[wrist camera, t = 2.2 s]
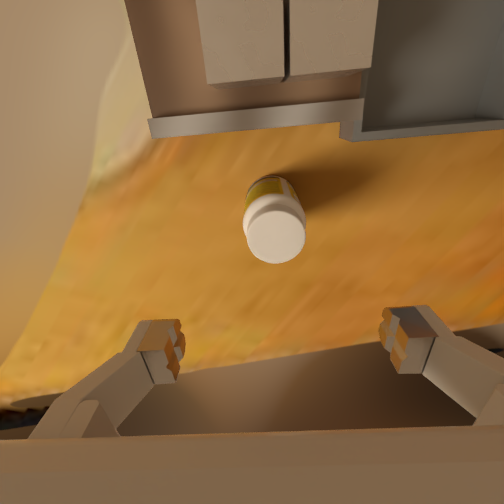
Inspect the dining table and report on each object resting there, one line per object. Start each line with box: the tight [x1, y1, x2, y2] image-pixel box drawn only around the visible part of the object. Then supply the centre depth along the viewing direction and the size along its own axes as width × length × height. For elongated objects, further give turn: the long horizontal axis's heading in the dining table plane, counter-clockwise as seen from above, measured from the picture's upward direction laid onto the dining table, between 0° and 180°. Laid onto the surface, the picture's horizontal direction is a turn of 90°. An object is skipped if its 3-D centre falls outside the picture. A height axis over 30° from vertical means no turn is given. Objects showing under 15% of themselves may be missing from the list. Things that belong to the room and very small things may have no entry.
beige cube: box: [283, 0, 378, 83], centre depth 14 cm, size 4×4×4 cm
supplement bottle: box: [243, 176, 306, 263], centre depth 21 cm, size 5×5×8 cm
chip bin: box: [339, 0, 504, 142], centre depth 17 cm, size 11×12×3 cm
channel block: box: [124, 0, 364, 139], centre depth 17 cm, size 14×9×5 cm, turn 95°
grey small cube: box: [196, 0, 284, 90], centre depth 14 cm, size 4×4×4 cm
